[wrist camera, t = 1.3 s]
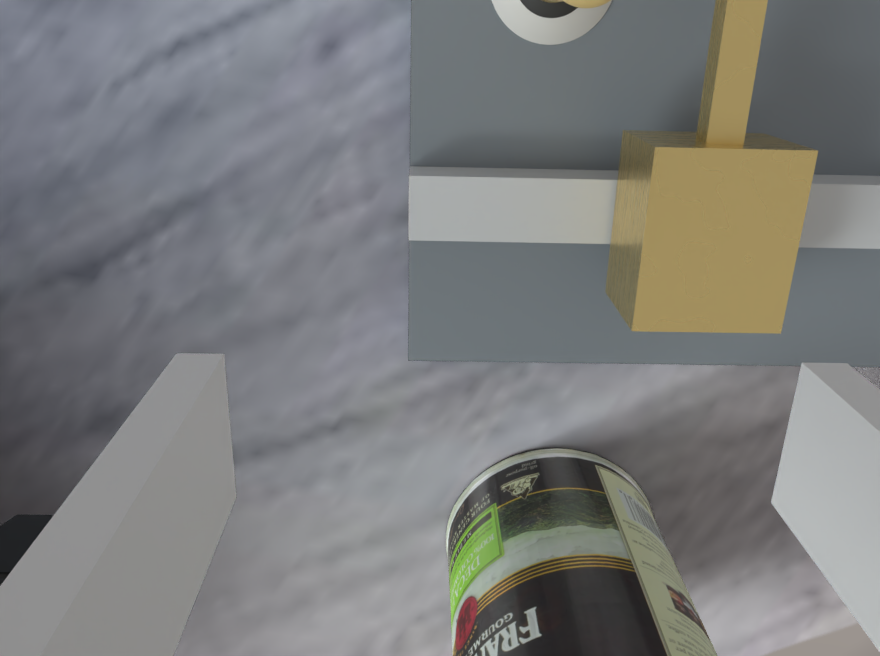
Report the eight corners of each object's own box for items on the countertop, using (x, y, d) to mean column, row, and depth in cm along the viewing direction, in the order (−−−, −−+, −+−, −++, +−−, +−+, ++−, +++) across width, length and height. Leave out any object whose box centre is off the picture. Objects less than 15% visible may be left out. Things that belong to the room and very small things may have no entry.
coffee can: (412, 583, 38) (405, 874, 25) (499, 416, 35) (544, 651, 22) (593, 644, 40) (675, 946, 27) (693, 490, 36) (844, 751, 23)
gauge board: (408, 349, 33) (403, 454, 25) (412, -120, 27) (407, -185, 19) (988, 357, 34) (1166, 462, 26) (1133, -99, 27) (1434, -151, 19)
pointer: (596, 279, 30) (631, 331, 25) (633, -73, 26) (685, -98, 21) (720, 281, 30) (780, 333, 25) (780, -69, 26) (868, -92, 21)
